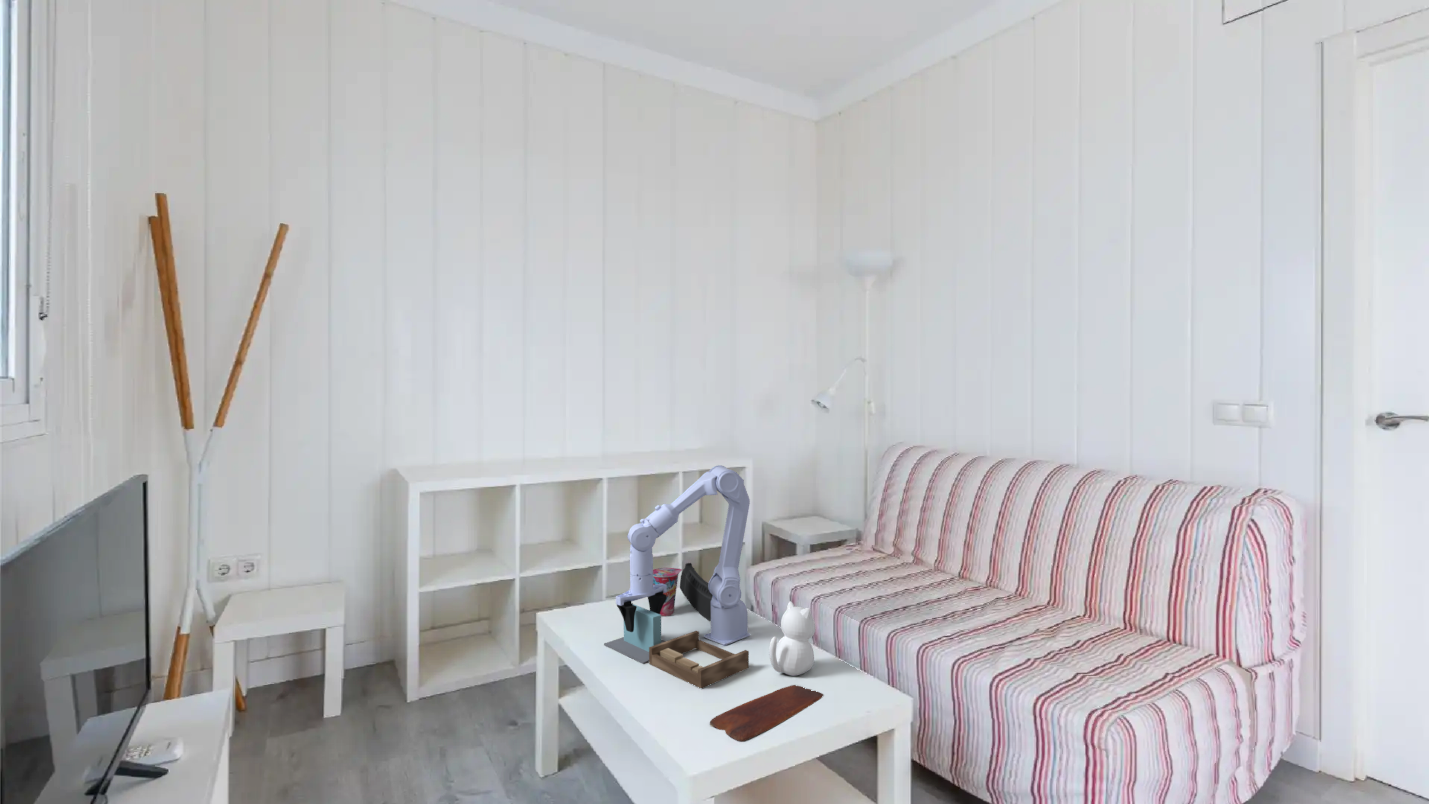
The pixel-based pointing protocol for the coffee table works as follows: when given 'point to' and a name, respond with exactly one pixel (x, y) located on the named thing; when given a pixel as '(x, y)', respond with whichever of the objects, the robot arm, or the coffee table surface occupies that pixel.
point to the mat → (629, 650)
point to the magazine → (696, 591)
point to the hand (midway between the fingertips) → (642, 626)
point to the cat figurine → (794, 642)
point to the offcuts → (680, 659)
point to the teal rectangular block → (644, 629)
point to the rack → (705, 674)
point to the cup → (670, 579)
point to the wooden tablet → (764, 712)
